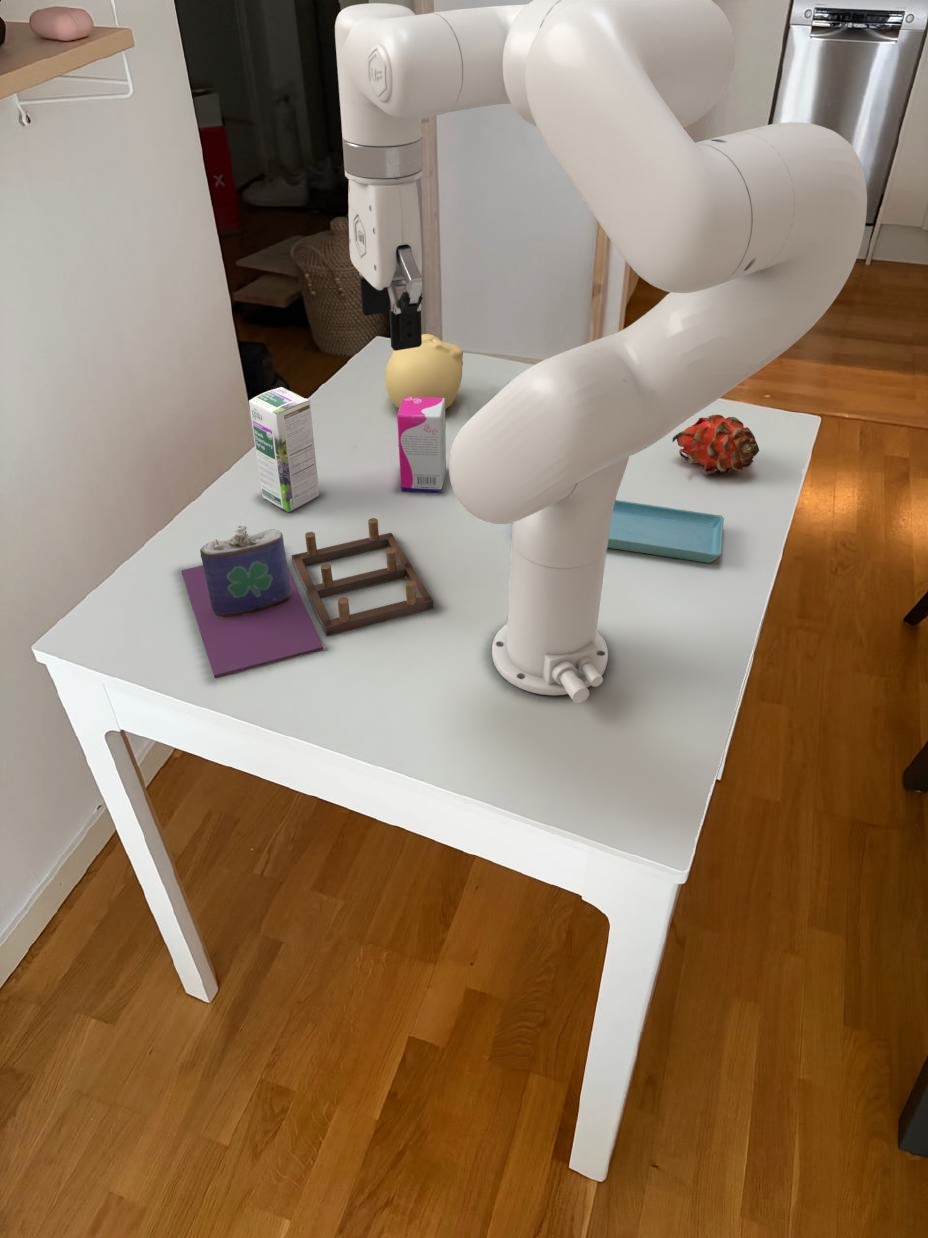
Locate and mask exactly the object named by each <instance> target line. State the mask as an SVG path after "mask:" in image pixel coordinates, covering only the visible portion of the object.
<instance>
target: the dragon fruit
mask: <svg viewBox="0 0 928 1238" xmlns="http://www.w3.org/2000/svg"><path fill="white" fill-rule="evenodd" d="M671 440H672V443H674V442H675V441H676V442H677V446H678V447H680V449H679V450H678V454H679V455H680V457H681V458H683V459H684V461H685V462H687V463H688V465H691V464H698V465H700V466H703V474H705V475H710V474H714V473H716V472H717V471H719V472H720V474H729V473H732V471H733V470H734V471H737V472H738V471H739V472H741V471H743V470H744V468H749V467H750V466H752V465H753V463H754V460H753V459H754V457H755V456H757V454H758V453H759V452H760V447H759V444H758V443H757V442H758V441H757V440H756V437H755V435H754V433H753V432H752V430H751V429H750V428H749V427H748V426H746V427H744V423H743V422H742V421H741V420H740V419H739V418H737V417H736V416H728V417H724V416H723V415H721V414H711V415H709V416H708V417H699V418H698V420H697V421H696V422H695V423H694V424H692V425H690V426H688V427H686V428H685V429H684V430H681V431H680V432H678V433H677V434H675V435H674V436H673V437H672V439H671Z"/></svg>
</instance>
